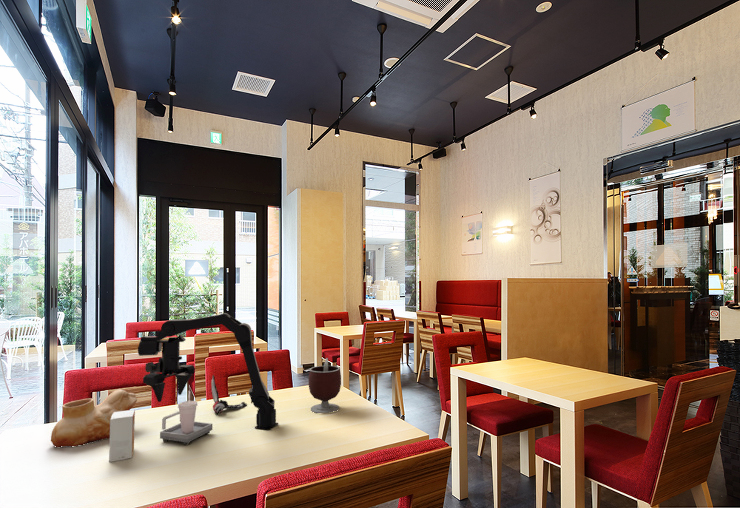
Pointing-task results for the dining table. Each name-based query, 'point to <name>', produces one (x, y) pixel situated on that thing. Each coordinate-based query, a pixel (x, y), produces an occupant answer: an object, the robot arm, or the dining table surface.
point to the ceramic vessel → (89, 419)
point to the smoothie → (187, 414)
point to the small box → (121, 435)
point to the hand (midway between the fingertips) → (169, 398)
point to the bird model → (221, 404)
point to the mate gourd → (324, 386)
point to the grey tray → (176, 431)
